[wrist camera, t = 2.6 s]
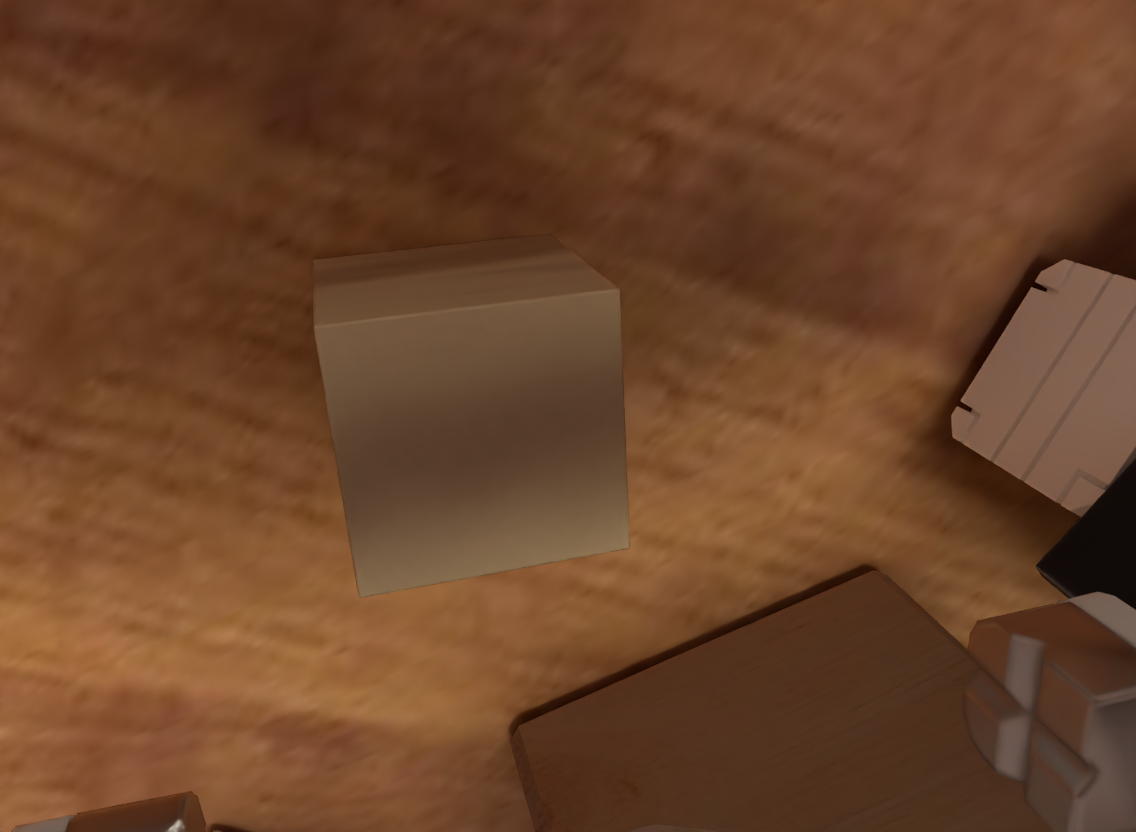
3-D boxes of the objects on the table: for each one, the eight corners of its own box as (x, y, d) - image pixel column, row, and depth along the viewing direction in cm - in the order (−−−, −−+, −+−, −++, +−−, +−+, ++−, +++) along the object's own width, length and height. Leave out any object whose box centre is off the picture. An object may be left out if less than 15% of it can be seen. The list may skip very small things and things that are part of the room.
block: (312, 259, 19) (313, 326, 15) (551, 233, 20) (620, 287, 16) (348, 480, 21) (359, 599, 17) (565, 445, 22) (630, 549, 18)
